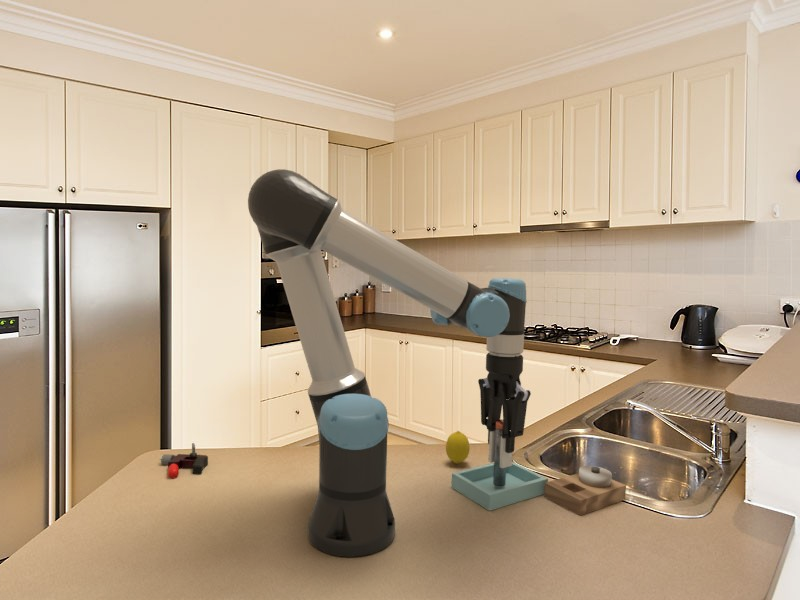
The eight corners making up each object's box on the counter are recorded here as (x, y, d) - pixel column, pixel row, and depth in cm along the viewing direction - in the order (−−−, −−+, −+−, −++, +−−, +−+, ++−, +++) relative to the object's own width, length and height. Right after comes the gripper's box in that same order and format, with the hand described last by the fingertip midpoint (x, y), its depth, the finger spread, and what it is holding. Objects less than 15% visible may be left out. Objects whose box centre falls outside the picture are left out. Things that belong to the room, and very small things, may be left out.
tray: (489, 510, 103) (490, 495, 103) (451, 487, 113) (451, 473, 113) (547, 493, 112) (547, 478, 112) (507, 472, 122) (507, 459, 122)
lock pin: (498, 487, 111) (501, 423, 110) (490, 482, 113) (493, 420, 112) (508, 484, 112) (510, 422, 111) (499, 480, 114) (502, 418, 113)
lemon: (467, 469, 123) (469, 436, 122) (444, 467, 124) (445, 433, 123) (469, 460, 128) (470, 428, 128) (446, 458, 129) (447, 426, 129)
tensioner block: (579, 515, 102) (581, 486, 102) (544, 497, 110) (545, 469, 109) (625, 499, 110) (626, 472, 109) (588, 483, 117) (590, 457, 117)
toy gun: (162, 462, 124) (162, 441, 123) (213, 464, 123) (213, 443, 123) (140, 479, 114) (140, 457, 114) (195, 482, 114) (195, 459, 113)
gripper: (546, 358, 106) (540, 473, 108) (492, 346, 119) (488, 448, 121) (519, 361, 102) (513, 481, 104) (466, 348, 115) (462, 454, 117)
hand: (500, 463), depth 112 cm, fingers open, 3 cm apart
